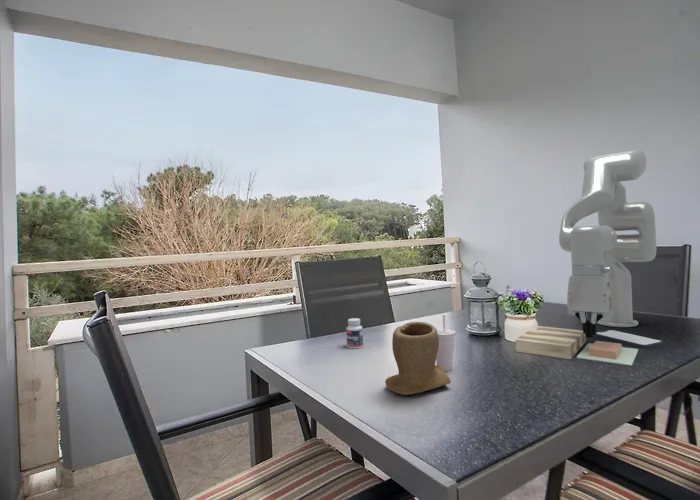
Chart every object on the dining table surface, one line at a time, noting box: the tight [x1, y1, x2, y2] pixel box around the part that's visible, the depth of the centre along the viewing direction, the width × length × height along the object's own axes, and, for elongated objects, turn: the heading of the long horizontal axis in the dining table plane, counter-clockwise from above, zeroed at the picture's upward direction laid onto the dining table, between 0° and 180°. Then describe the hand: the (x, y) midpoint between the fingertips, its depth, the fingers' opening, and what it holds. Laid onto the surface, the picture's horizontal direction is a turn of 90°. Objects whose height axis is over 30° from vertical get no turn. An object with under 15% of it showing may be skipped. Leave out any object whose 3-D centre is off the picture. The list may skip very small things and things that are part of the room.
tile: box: [589, 340, 623, 359], centre depth 105 cm, size 9×6×2 cm, turn 137°
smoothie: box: [435, 314, 457, 372], centre depth 100 cm, size 6×6×14 cm
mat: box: [576, 342, 639, 367], centre depth 106 cm, size 16×12×1 cm
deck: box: [515, 325, 587, 360], centre depth 115 cm, size 20×14×4 cm
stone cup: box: [384, 321, 452, 396], centre depth 88 cm, size 15×12×15 cm
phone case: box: [593, 329, 664, 349], centre depth 117 cm, size 9×2×16 cm
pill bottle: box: [345, 317, 364, 349], centre depth 126 cm, size 5×5×9 cm
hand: (589, 336), depth 108 cm, fingers closed
